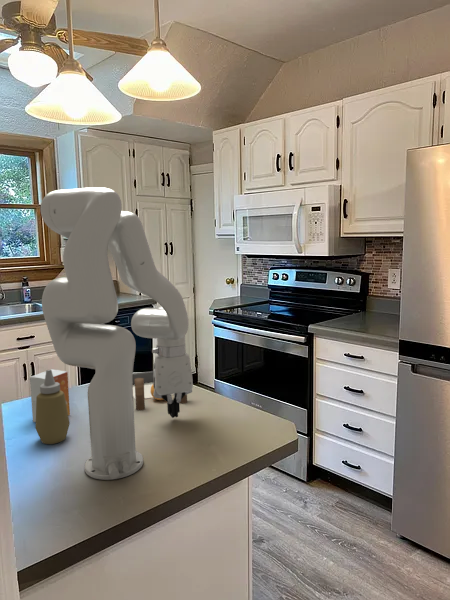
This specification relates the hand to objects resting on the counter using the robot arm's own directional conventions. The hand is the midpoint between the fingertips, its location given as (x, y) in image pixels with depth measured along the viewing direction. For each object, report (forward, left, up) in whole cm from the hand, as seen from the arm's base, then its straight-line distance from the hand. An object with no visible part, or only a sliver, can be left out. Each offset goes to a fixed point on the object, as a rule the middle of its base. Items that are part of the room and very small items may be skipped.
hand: (173, 415), depth 126 cm
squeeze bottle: (+1, +31, -2) cm, 31 cm away
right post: (+13, -6, -2) cm, 15 cm away
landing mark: (+27, 0, -2) cm, 27 cm away
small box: (+16, +31, -2) cm, 35 cm away
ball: (+18, -1, +2) cm, 18 cm away
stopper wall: (+37, 0, -2) cm, 37 cm away
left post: (+13, +7, -2) cm, 15 cm away
